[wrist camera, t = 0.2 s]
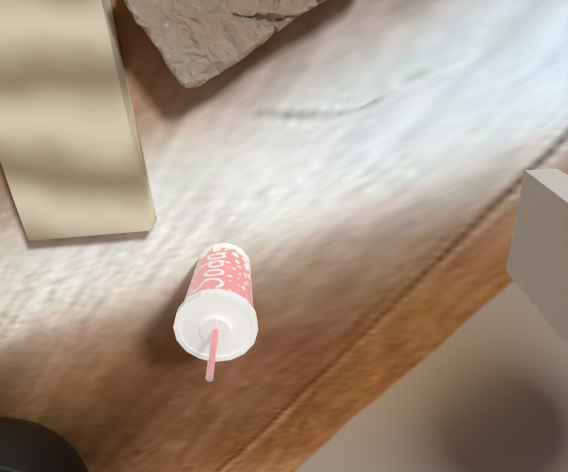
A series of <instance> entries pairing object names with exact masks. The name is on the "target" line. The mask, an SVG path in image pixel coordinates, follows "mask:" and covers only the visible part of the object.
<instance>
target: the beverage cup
mask: <svg viewBox="0 0 568 472" xmlns="http://www.w3.org/2000/svg"><path fill="white" fill-rule="evenodd" d="M257 325H258V323H257V318H256V312H255V310H254V309H253V298H252V284H251V271H250V263H249V258H248V256H247V255H246V254H245V252H244V251H243V250H242V249H240V248H239V247H237V246H236V245H233V244H228V243H218V244H214V245H212V246H210V247H208V248H206V249H205V250H204V251H203V253H202V254H201V255H200V257H199V260H198V263H197V266H196V269H195V272H194V274H193V277H192V280H191V283H190V286H189V289H188V292H187V294H186V297H185V300H184V302H183V303H182V304H181V305H180V307H179V308H178V311H177V313H176V318H175V322H174V326H173V328H174V332H175V336H176V339H177V341H178V342H179V344H180V345H181V346H182V347H183V348H184V349H185V351H186V352H188V353H190V354H192V355H194V356H196V357H197V358H199V359H204V360H208V365H207V372H206V380H207V381H212V380H213V375H214V367H215V362H216V361H225V360H231V359H234V358H236V357H238V356H240V355H242V354H244V353H245V352H246V351H247V350H248V349H249V348H250V347H251V346H252V345H253V344H254V342H255V338H256V335H257V332H258V326H257Z"/></svg>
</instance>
